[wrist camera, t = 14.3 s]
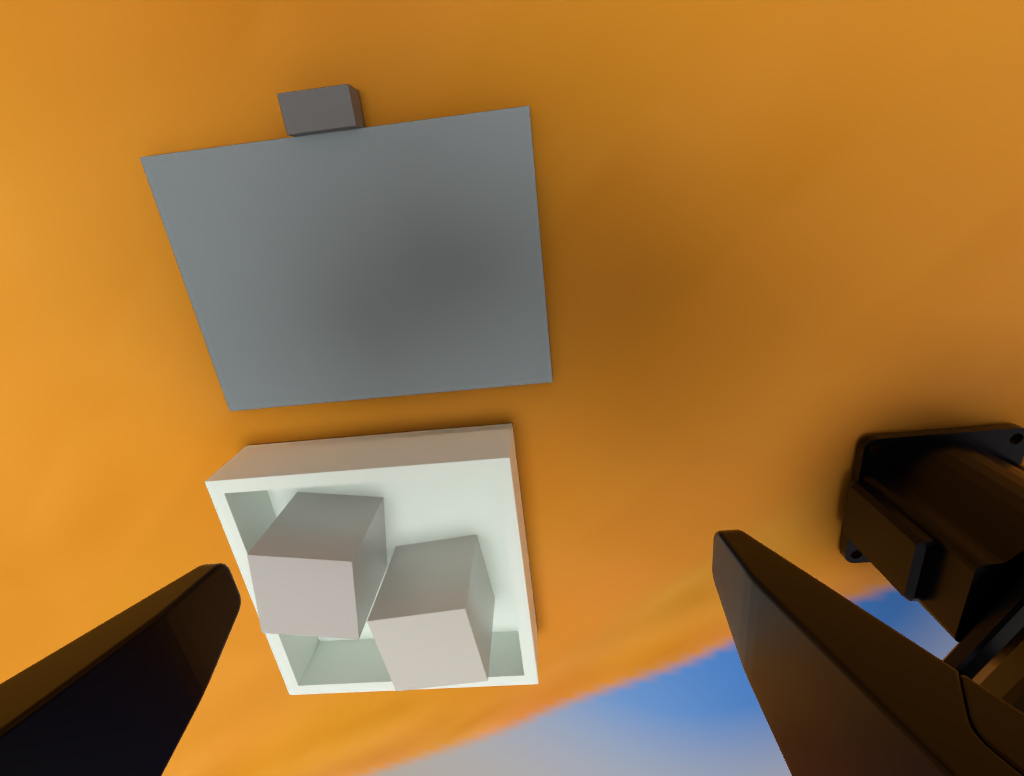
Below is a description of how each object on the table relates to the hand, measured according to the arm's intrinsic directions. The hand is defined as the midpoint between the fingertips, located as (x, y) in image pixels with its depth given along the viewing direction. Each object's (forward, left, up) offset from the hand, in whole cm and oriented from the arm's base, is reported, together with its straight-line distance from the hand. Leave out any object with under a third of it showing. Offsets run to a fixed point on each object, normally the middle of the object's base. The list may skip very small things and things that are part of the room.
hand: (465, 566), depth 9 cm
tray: (+6, +9, -12) cm, 16 cm away
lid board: (+5, -4, -12) cm, 14 cm away
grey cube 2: (+8, +8, -12) cm, 16 cm away
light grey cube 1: (+4, +11, -12) cm, 16 cm away
